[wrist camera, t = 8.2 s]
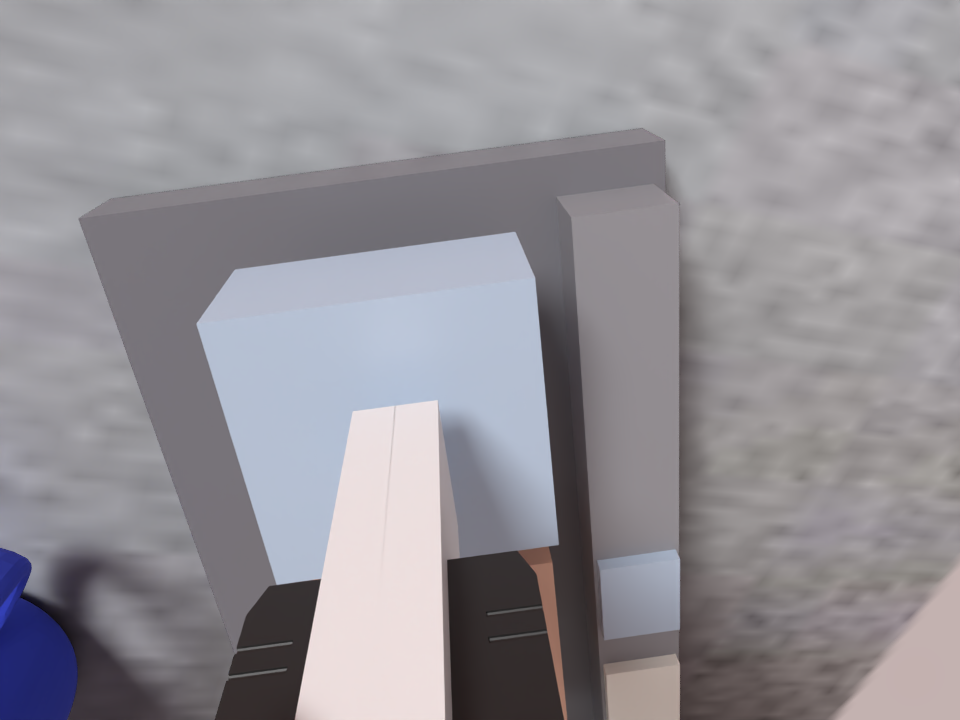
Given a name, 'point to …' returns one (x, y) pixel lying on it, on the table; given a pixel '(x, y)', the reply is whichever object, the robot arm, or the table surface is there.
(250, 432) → the blue key
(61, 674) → the mug
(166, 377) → the keypad
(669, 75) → the table surface
